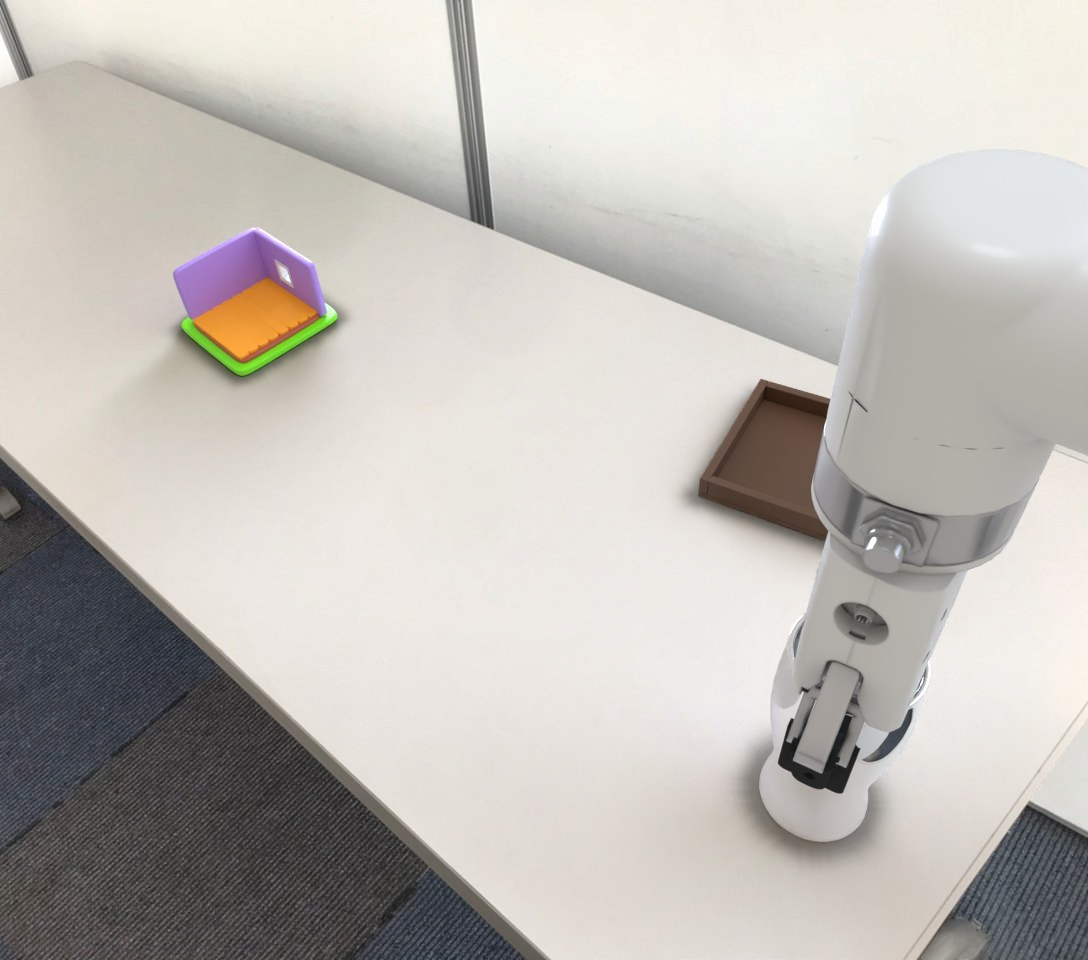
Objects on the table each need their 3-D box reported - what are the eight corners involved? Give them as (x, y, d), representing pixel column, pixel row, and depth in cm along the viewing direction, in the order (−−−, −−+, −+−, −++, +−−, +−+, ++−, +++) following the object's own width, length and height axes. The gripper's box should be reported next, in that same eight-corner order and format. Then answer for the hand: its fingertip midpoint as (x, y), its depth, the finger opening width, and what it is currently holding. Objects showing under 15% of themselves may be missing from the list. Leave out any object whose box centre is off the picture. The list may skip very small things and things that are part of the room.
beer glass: (799, 718, 61) (840, 574, 50) (899, 795, 57) (966, 657, 46) (726, 789, 59) (752, 654, 48) (825, 876, 55) (878, 749, 44)
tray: (913, 442, 76) (919, 423, 74) (863, 554, 69) (868, 536, 68) (757, 396, 81) (760, 378, 80) (697, 496, 75) (699, 478, 73)
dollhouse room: (275, 272, 102) (258, 215, 97) (343, 318, 95) (327, 259, 90) (178, 328, 98) (154, 271, 93) (241, 380, 91) (220, 322, 86)
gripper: (963, 689, 32) (862, 887, 44) (1072, 367, 41) (963, 607, 53) (739, 600, 35) (705, 807, 47) (886, 321, 44) (825, 557, 57)
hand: (841, 701), depth 50 cm, fingers open, 8 cm apart
